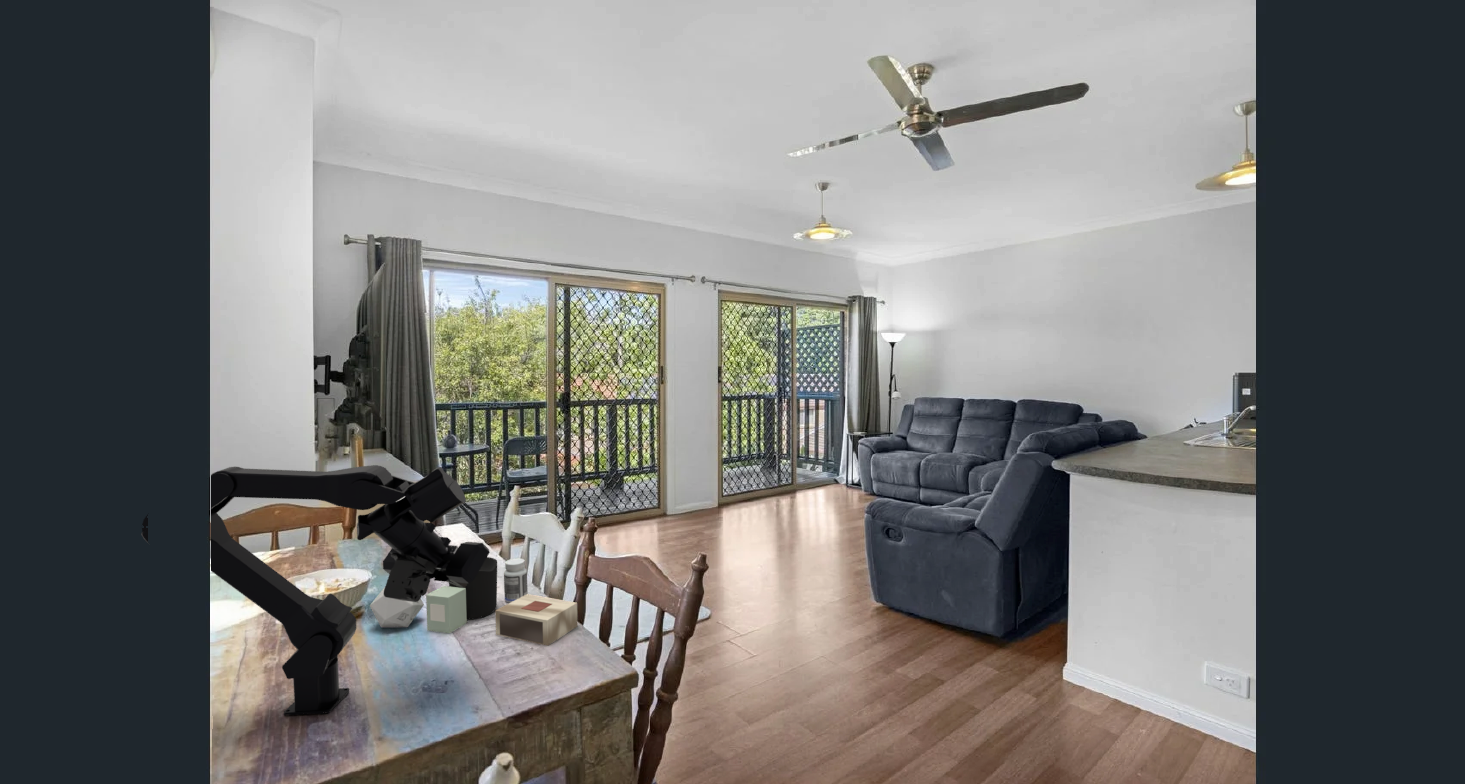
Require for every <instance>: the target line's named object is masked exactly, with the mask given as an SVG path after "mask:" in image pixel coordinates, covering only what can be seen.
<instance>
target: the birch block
mask: <svg viewBox="0 0 1465 784" xmlns="http://www.w3.org/2000/svg"><path fill="white" fill-rule="evenodd" d="M494 613H495V614H494V617H495V635H496V636H499V637H506V638H510V639H513V640H519V641H524V642H529V643H534V644H539V645H542V646H546V647H547V646H550V645H551V644H552V643H555V642H556V641H558V640H559V639H560V638H562V637H563V636H565V635H567V634H568V633H569V632H571V631H573V630H574V629H576V628H578V602H576V601H575V602H574V601H571V600H570V601H569V600H563V599H558V598H553V597H552V598H551V597H545V596H541V595H535V594H530V593H528V594H526V595H524V596H522V597H521V598H519V599H517V600H515V601H513V602H511V603H507V604H504V605H503V606H500V607H499V608H496V609H495V611H494Z"/></svg>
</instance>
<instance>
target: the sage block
mask: <svg viewBox="0 0 1465 784" xmlns="http://www.w3.org/2000/svg"><path fill="white" fill-rule="evenodd" d="M425 596H426V598H425V600H426V630H427V632H435V633H443V634H451V633H453V632H454V631H456V630H458V629H459V628H461V627H463V626H464V625H466V624H467V622H468V620H467V616H466V588H458V587H449V585H448V586H447V585H442V586H441V587H439V588H438V589H435V590H433V591H431V592H430V593H426V594H425Z"/></svg>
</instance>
